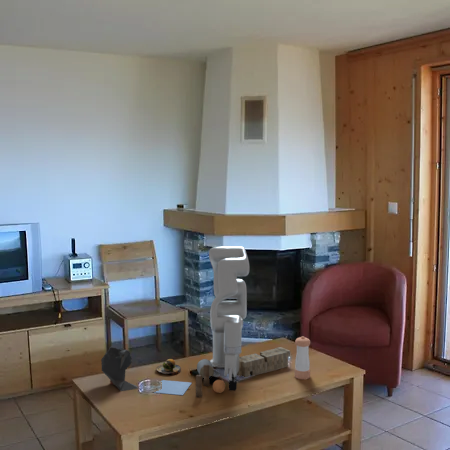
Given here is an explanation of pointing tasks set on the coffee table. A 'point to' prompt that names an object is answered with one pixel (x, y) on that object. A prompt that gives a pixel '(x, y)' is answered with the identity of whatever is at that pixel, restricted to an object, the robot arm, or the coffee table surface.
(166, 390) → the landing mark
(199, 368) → the ceramic mug
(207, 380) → the post
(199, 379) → the post
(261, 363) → the block tower
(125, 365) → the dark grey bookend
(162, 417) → the coffee table surface
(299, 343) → the salt shaker
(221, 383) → the ball
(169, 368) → the fruit plate
